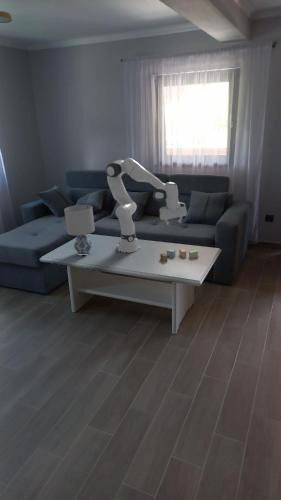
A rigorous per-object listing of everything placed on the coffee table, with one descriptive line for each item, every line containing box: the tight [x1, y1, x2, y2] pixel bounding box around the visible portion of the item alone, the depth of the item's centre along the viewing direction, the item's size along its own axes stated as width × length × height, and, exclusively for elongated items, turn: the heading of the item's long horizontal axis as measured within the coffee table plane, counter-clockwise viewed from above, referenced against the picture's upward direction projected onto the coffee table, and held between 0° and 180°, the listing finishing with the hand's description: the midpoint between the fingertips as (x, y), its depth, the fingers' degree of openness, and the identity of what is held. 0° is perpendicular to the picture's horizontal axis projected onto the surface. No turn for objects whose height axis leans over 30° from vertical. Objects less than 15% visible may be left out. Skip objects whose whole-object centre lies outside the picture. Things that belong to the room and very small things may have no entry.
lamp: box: [63, 204, 95, 255], centre depth 274 cm, size 22×22×38 cm
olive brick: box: [188, 249, 199, 259], centre depth 259 cm, size 6×3×4 cm, turn 110°
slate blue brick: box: [166, 249, 176, 258], centre depth 264 cm, size 6×3×4 cm, turn 50°
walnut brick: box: [159, 252, 168, 262], centre depth 257 cm, size 6×3×4 cm, turn 20°
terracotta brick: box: [178, 248, 187, 258], centre depth 262 cm, size 6×3×4 cm, turn 20°
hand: (173, 223), depth 252 cm, fingers open, 8 cm apart
